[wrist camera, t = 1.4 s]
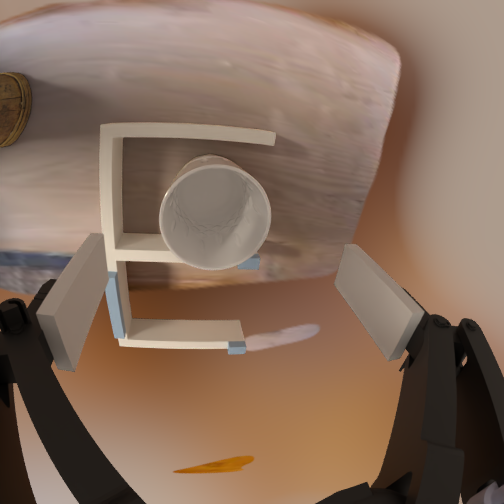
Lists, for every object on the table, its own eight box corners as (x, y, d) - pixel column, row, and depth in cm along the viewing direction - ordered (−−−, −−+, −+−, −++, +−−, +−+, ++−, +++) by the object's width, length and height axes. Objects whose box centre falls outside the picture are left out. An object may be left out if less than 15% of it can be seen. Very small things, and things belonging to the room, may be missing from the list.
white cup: (162, 213, 29) (150, 259, 20) (181, 139, 26) (174, 151, 17) (234, 229, 31) (251, 279, 23) (257, 160, 28) (286, 182, 20)
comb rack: (124, 324, 34) (118, 352, 30) (112, 122, 24) (96, 125, 19) (238, 326, 38) (245, 354, 33) (265, 130, 27) (279, 133, 22)
